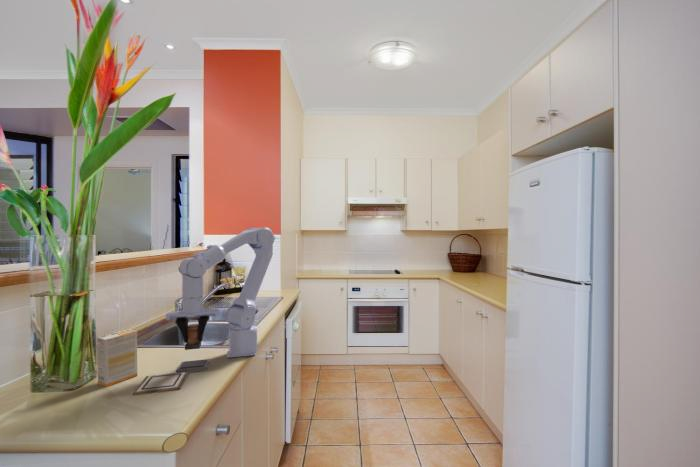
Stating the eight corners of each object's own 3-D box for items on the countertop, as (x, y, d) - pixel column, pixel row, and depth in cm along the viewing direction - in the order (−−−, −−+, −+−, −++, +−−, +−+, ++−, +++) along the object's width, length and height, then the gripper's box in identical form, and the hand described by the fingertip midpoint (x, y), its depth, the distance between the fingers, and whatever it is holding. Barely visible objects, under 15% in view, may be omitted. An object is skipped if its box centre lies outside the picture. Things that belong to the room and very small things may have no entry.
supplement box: (129, 372, 95) (129, 328, 95) (138, 375, 93) (137, 330, 93) (96, 383, 88) (96, 336, 88) (105, 387, 86) (104, 339, 86)
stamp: (201, 344, 101) (201, 323, 101) (199, 348, 97) (199, 327, 97) (187, 345, 100) (187, 324, 100) (184, 349, 96) (185, 328, 96)
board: (188, 373, 94) (188, 370, 94) (179, 389, 85) (179, 386, 85) (146, 377, 92) (146, 375, 92) (132, 395, 82) (132, 392, 82)
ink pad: (209, 362, 102) (209, 358, 102) (205, 370, 96) (205, 365, 96) (181, 365, 100) (181, 361, 100) (176, 373, 94) (176, 368, 94)
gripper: (162, 301, 93) (163, 348, 93) (216, 298, 96) (216, 343, 96) (169, 296, 99) (170, 340, 100) (219, 293, 103) (220, 335, 103)
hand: (193, 341), depth 98 cm, fingers closed on stamp, 3 cm apart
